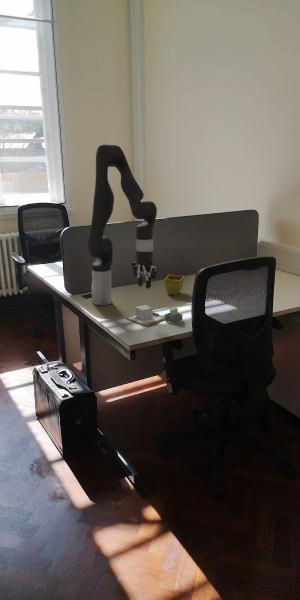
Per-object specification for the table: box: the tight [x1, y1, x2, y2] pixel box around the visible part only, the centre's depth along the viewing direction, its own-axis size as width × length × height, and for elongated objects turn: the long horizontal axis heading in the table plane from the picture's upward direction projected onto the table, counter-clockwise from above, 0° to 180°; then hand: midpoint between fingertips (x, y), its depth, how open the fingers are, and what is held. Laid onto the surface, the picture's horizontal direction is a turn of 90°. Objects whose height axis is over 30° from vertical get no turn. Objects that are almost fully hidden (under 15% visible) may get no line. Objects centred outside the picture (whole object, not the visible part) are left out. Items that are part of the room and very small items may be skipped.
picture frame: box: [124, 311, 165, 328], centre depth 196 cm, size 14×13×1 cm
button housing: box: [164, 312, 183, 324], centre depth 194 cm, size 6×6×3 cm
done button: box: [169, 307, 179, 317], centre depth 193 cm, size 4×4×4 cm
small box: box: [135, 304, 154, 320], centre depth 195 cm, size 6×6×5 cm
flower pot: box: [163, 274, 185, 296], centre depth 230 cm, size 9×9×9 cm
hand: (144, 286), depth 191 cm, fingers open, 4 cm apart
